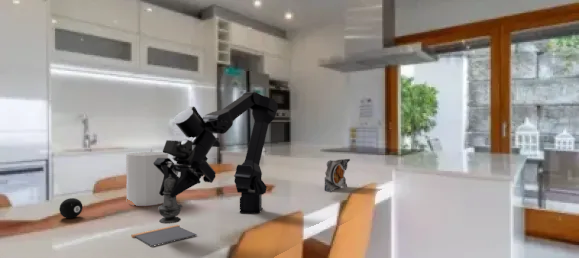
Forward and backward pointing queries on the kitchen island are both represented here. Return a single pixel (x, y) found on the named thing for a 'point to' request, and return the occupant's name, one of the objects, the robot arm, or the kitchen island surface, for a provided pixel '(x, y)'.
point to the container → (144, 178)
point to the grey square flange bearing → (335, 174)
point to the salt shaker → (169, 203)
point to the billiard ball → (71, 208)
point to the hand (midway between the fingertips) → (165, 195)
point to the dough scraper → (163, 235)
